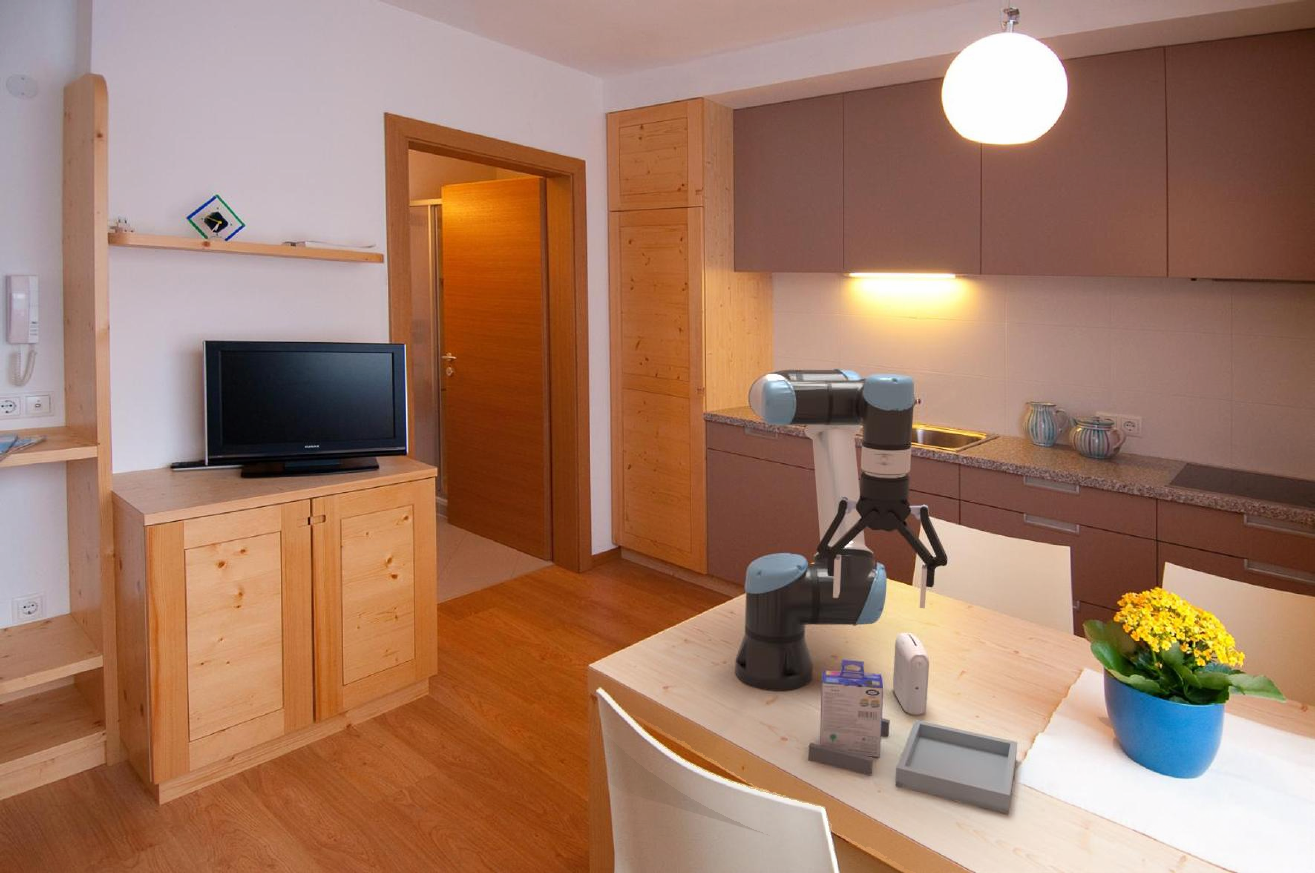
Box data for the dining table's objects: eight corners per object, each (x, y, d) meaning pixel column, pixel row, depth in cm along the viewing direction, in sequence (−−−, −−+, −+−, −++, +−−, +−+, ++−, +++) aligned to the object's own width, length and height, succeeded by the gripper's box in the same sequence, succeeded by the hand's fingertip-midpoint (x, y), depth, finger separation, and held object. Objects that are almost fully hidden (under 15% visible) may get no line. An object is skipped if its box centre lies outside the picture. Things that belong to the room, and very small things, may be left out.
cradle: (808, 759, 137) (808, 745, 136) (831, 720, 149) (831, 706, 149) (870, 775, 132) (871, 760, 132) (889, 733, 145) (889, 719, 144)
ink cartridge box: (879, 740, 143) (883, 660, 140) (881, 758, 137) (885, 675, 135) (819, 734, 144) (822, 655, 142) (819, 752, 139) (822, 669, 137)
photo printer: (929, 715, 151) (933, 650, 149) (904, 715, 151) (908, 650, 149) (912, 688, 161) (916, 626, 159) (890, 688, 161) (893, 626, 159)
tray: (895, 785, 130) (896, 767, 129) (914, 735, 144) (915, 719, 143) (1008, 813, 123) (1009, 795, 122) (1016, 758, 137) (1017, 741, 136)
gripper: (802, 471, 135) (798, 598, 139) (969, 484, 127) (960, 618, 131) (809, 462, 142) (805, 583, 146) (968, 473, 134) (960, 601, 137)
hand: (878, 600), depth 138 cm, fingers open, 13 cm apart
